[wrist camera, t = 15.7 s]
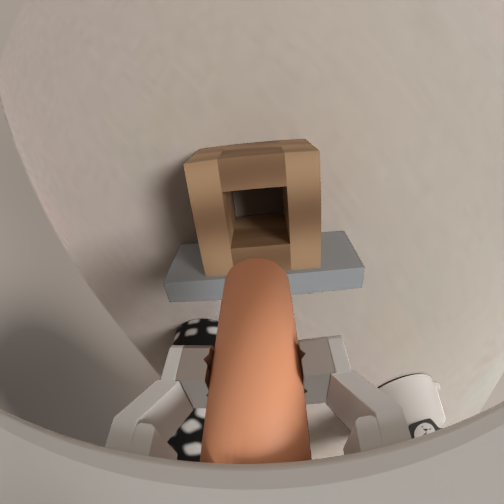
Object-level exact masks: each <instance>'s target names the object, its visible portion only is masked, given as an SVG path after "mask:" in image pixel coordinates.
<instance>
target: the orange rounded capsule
mask: <svg viewBox="0 0 504 504" xmlns="http://www.w3.org/2000/svg"><path fill="white" fill-rule="evenodd" d="M304 460H312V459H311V449H310V439H309V430H308V420H307V411H306V403H305V394H304V388H303V381H302V373H301V362H300V358H299V350H298V340H297V332H296V325H295V318H294V311H293V304H292V298H291V291H290V284H289V279H288V276H287V274H286V272H285V271H284V269H283V268H282V267H280V266H279V265H278V264H276V263H275V262H272V261H270V260H267V259H261V258H253V259H247V260H244V261H241V262H239V263H237V264H236V265H235V266H233V267H232V268H231V269H230V270H229V272H228V273H227V275H226V278H225V283H224V289H223V295H222V302H221V308H220V315H219V322H218V328H217V335H216V342H215V349H214V356H213V363H212V370H211V377H210V384H209V391H208V399H207V406H206V414H205V422H204V430H203V438H202V446H201V454H200V462H206V463H230V464H258V463H280V462H294V461H304Z"/></svg>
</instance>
